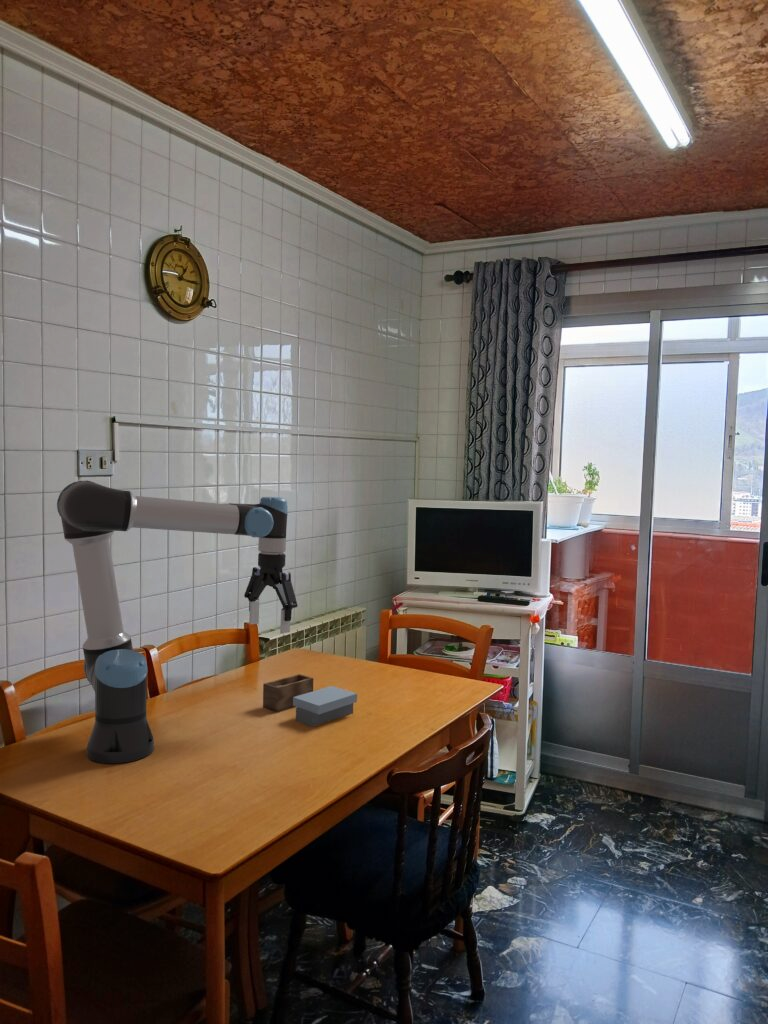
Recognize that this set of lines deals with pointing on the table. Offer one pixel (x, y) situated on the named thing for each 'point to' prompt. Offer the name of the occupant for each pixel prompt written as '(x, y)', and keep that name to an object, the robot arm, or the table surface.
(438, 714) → the table surface
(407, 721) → the table surface
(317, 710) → the lid
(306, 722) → the block
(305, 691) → the box
